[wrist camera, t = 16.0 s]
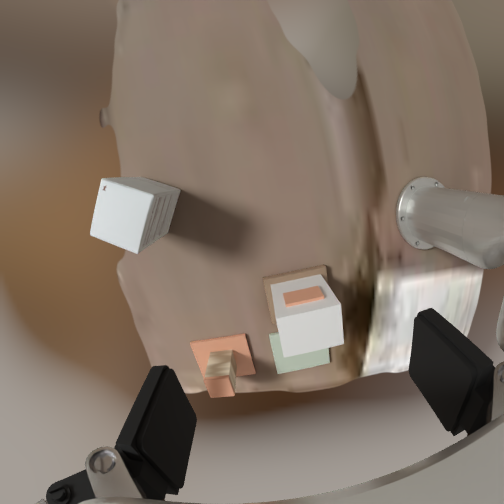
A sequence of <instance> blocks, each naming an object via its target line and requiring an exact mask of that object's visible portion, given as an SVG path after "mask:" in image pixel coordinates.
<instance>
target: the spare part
mask: <svg viewBox="0 0 504 504" xmlns="http://www.w3.org/2000/svg"><path fill="white" fill-rule="evenodd" d="M236 372H237V365H236V361H235V358H234V354H233V351H232V349H231V350H224V351H216V352H210V356H209V360H208V364H207V368H206V373H205V377H204V383H205V385H206V388H207V390H208V392H209V395H210V397H211V398H215V397H227V396H235V385H236Z"/></svg>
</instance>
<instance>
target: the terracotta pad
mask: <svg viewBox="0 0 504 504" xmlns="http://www.w3.org/2000/svg"><path fill="white" fill-rule="evenodd" d="M190 345H191V347H192V350H193V352H194V355H195V358H196V360H197V363H198V365H199V367H200V370H201V372H202V375H203V377H205V373H206V368H207V364H208V360H209V356H210V352H216V351H224V350H231V349H232V351H233V354H234V358H235V361H236V365H237V372H236V377H237V376H244V375H251V374H256V371H255V368H254V364H253V361H252V357H251V353H250V350H249V346H248V343H247V339H246V335H245V334H239V335H233V336H226V337H220V338H213V339H206V340H199V341H192V342H190Z"/></svg>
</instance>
